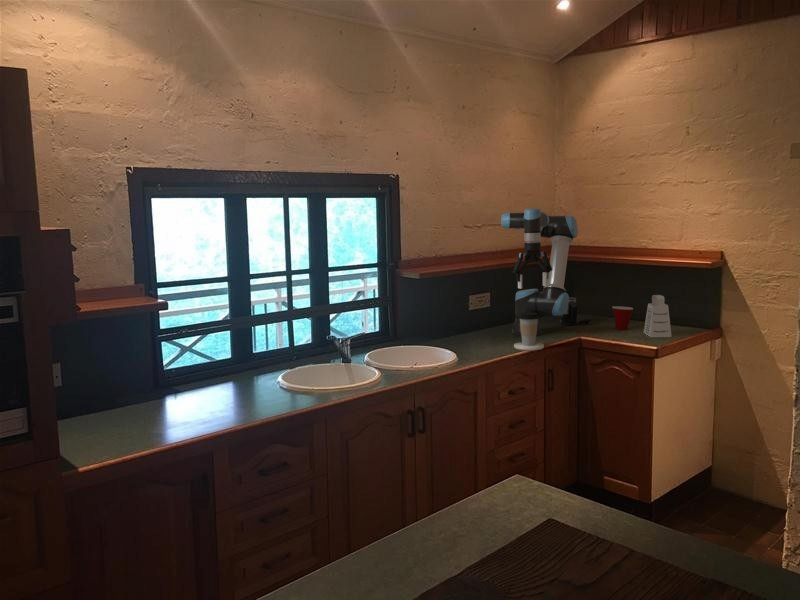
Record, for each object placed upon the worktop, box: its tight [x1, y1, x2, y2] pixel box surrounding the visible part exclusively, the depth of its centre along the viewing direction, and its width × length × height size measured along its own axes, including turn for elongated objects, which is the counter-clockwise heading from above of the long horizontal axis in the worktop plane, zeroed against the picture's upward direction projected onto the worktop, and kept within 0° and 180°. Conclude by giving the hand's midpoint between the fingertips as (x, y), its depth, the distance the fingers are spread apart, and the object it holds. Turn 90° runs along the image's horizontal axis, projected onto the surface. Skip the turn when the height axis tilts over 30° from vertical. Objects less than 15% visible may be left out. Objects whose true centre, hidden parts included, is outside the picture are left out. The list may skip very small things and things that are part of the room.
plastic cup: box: [611, 305, 634, 331], centre depth 365 cm, size 11×11×12 cm
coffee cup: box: [519, 312, 540, 346], centre depth 324 cm, size 9×9×15 cm
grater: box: [643, 294, 672, 338], centre depth 346 cm, size 10×10×20 cm
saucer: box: [513, 341, 545, 351], centre depth 325 cm, size 14×14×1 cm
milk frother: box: [559, 296, 593, 326], centre depth 384 cm, size 14×16×15 cm
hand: (532, 287), depth 323 cm, fingers open, 13 cm apart
